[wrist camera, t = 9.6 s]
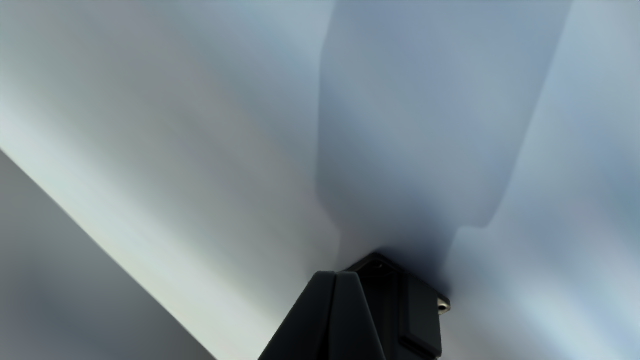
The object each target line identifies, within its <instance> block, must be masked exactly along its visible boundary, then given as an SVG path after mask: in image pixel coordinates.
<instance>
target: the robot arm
mask: <svg viewBox="0 0 640 360" xmlns="http://www.w3.org/2000/svg"><path fill="white" fill-rule="evenodd" d="M448 310H450V301H449V299H447V298H446V297H444V296H443V295H441V294H440V293H438V292H437V291H435V290H434V289H432V288H431V287H429V286H428V285H426V284H425V283H423V282H422V281H420V280H419V279H417V278H416V277H414V276H413V275H411V274H410V273H408V272H407V271H405V270H404V269H402V268H401V267H399V266H398V265H396V264H395V263H393V262H392V261H390V260H389V259H387V258H386V257H384V256H383V255H381V254H377V253H374V254H371V255H369V256H367V257H366V258H364V259H363V260H361V261H360V262H358V263H357V264H355V265H354V266H352V267H351V268H349V269H348V270H346V271H345V272H338V273H337V274H336V272H334V271H317V272H316V273H315V274H314V275H313V277H312V278H311V280H310V281H309V283H308V284H307V286H306V287H305V289H304V290H303V292H302V293H301V295H300V296H299V298H298V299H297V301H296V302H295V304H294V305H293V307H292V308H291V310H290V311H289V313H288V314H287V316H286V317H285V319H284V320H283V322H282V323H281V325H280V326H279V328H278V329H277V331H276V332H275V334H274V335H273V337H272V338H271V340H270V341H269V343H268V344H267V346H266V348H265V349H264V351H263V352H262V354H261V355H260V357H259V358H258V360H437V358H439V357H441V353H442V347H441V335H440V323H439V315H441V314H443V313H445V312H447V311H448Z"/></svg>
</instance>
